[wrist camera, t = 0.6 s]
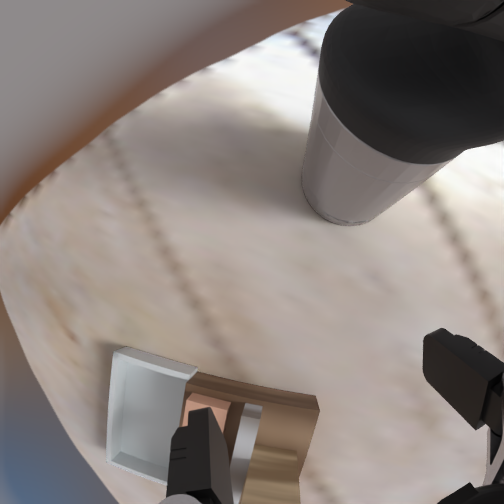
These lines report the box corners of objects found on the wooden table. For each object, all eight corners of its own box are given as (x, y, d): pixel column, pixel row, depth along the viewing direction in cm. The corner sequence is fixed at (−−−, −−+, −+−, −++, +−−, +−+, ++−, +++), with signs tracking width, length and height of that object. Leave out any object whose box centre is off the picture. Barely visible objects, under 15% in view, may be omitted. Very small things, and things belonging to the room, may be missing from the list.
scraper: (245, 402, 26) (221, 475, 14) (307, 413, 26) (321, 491, 14) (223, 500, 25) (197, 580, 13) (276, 509, 25) (271, 593, 13)
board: (197, 371, 31) (185, 382, 27) (315, 395, 29) (319, 410, 26) (180, 471, 30) (170, 489, 26) (285, 493, 29) (285, 514, 25)
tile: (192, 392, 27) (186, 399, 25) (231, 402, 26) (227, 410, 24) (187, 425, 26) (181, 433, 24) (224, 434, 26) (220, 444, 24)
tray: (126, 346, 32) (113, 351, 29) (197, 367, 31) (189, 374, 28) (117, 451, 31) (106, 462, 28) (180, 474, 30) (172, 487, 27)
